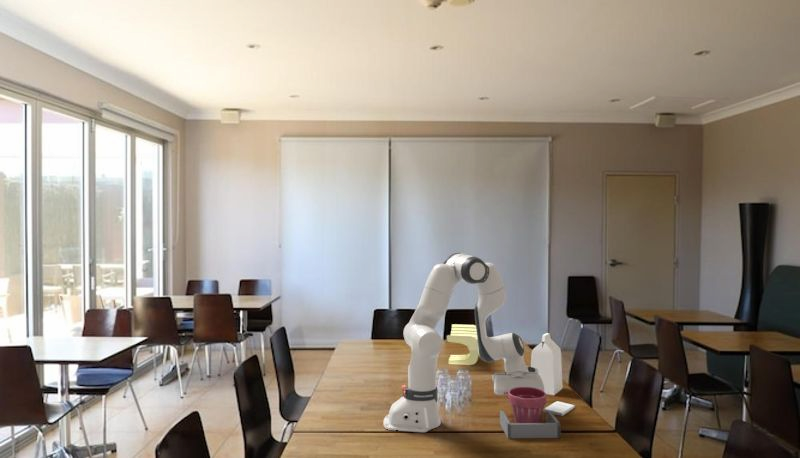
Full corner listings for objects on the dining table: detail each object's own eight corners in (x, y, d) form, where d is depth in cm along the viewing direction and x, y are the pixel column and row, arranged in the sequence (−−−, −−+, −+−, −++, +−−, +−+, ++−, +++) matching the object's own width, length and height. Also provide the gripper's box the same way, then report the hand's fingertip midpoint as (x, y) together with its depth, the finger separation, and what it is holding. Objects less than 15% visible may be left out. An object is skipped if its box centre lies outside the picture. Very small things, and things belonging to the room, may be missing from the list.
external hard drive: (543, 412, 218) (556, 404, 227) (562, 417, 212) (574, 408, 222) (543, 408, 218) (556, 400, 227) (562, 413, 212) (574, 404, 222)
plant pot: (506, 429, 199) (506, 396, 198) (510, 416, 212) (510, 385, 212) (545, 434, 194) (545, 400, 194) (547, 420, 208) (547, 388, 207)
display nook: (507, 438, 191) (507, 424, 191) (500, 423, 205) (500, 410, 205) (560, 437, 191) (560, 424, 191) (549, 422, 205) (549, 410, 205)
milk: (538, 384, 254) (538, 330, 253) (562, 388, 247) (562, 333, 246) (529, 390, 244) (529, 335, 243) (553, 395, 237) (553, 338, 237)
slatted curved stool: (476, 369, 279) (476, 336, 279) (447, 368, 282) (446, 335, 282) (479, 355, 308) (479, 325, 308) (452, 354, 311) (452, 324, 311)
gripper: (492, 369, 217) (496, 400, 208) (541, 368, 218) (548, 400, 208) (490, 376, 222) (494, 407, 212) (538, 376, 222) (545, 407, 212)
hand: (521, 403), depth 210 cm, fingers closed
